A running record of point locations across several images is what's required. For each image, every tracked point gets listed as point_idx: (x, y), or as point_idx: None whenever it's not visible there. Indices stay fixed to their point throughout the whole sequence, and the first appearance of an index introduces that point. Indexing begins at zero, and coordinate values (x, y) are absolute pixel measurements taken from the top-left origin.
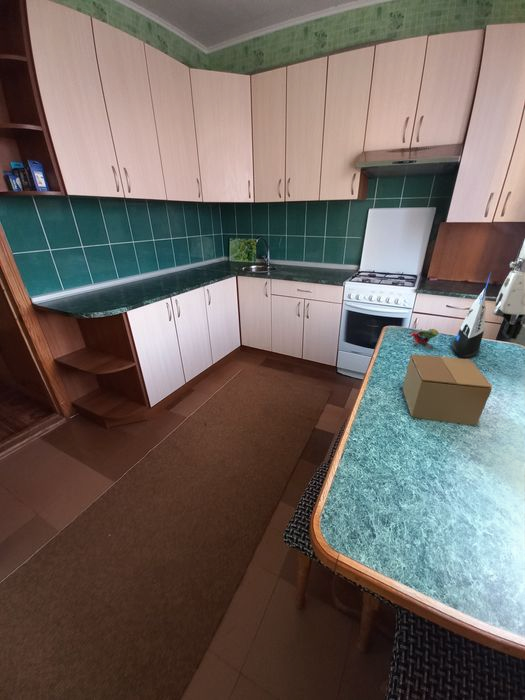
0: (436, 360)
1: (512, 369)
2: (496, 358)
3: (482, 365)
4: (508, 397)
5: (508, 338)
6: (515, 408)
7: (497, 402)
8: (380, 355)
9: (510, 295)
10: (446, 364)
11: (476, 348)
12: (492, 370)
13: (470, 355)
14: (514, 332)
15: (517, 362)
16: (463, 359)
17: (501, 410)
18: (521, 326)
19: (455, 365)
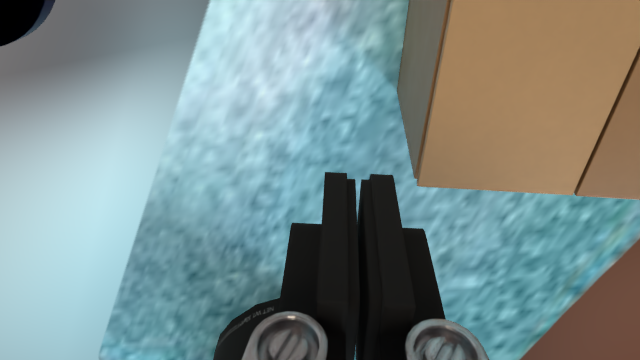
0: (631, 153)
1: (148, 258)
2: (177, 307)
3: (233, 271)
4: (214, 99)
5: (392, 178)
6: (214, 30)
7: (266, 60)
8: (567, 298)
9: None
10: (603, 114)
11: (233, 340)
12: (212, 248)
13: (257, 312)
14: (356, 228)
15: (123, 293)
16: (458, 180)
17: (272, 6)
18: (286, 301)
19: (552, 109)
